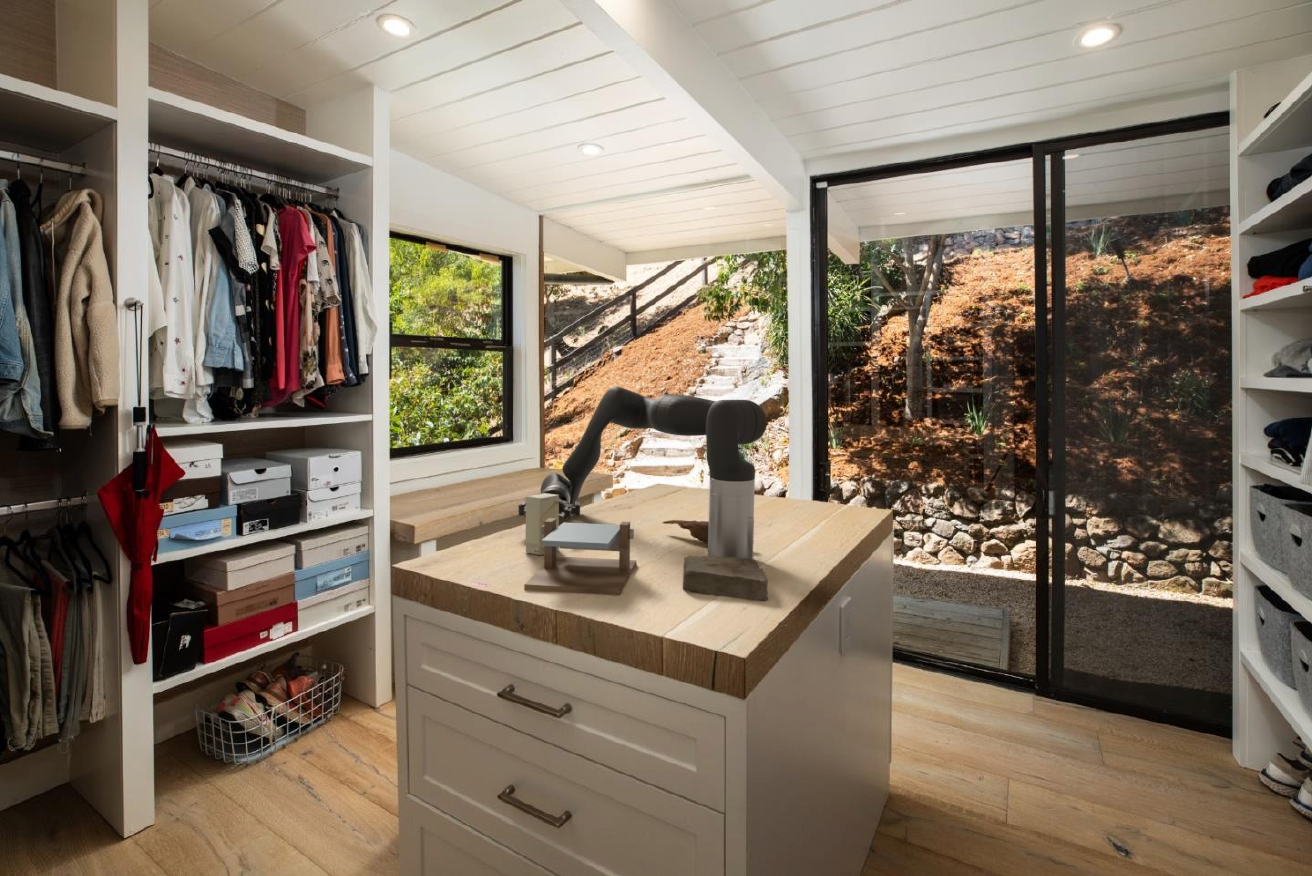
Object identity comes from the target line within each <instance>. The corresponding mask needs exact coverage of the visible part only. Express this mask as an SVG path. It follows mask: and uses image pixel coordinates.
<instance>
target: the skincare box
mask: <svg viewBox="0 0 1312 876" xmlns="http://www.w3.org/2000/svg"><path fill="white" fill-rule="evenodd" d="M525 500H526V517H525V553H527V554H531V555H538V556H542V555H543V556H544V546H541V540H542V539H544V535H542V534H541V528H542V525H544V521H546V520H547V519H548V518H556V528H557V527H559V526H560V518H559V495H555V494H547V493H542V494H541V493H537V494H533V495H527V496H525ZM559 549H560V548H559V547H556V552H557V551H559Z"/></svg>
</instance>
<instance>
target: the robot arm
mask: <svg viewBox="0 0 1312 876" xmlns="http://www.w3.org/2000/svg"><path fill="white" fill-rule="evenodd" d="M610 423H611V424H614V425H617V426H621V427H623V428H627V429H653V430H655V431H657V432H660V433H665V434H668V435H673V436H674V435H675V436H681V437H683V436H685V437H694V436H695V437H697V436H700V437H701V436H705V440H706V441H705V442H706V463H707V466H708V469H709V486H708V487H709V492H708V494H709V498H708V521H709V527H708V543H707V556H718V557H735V558H742V559H744V558H747V559H753V560H754V542H753V540H754V533H755V532H754V529H755V484H756V483H755V482H756V479H755V478H756V469H755V468H756V467H755V465H754V464H752V463H751V462H748V461H745V459H743V458H742V457H741V456H740V451H739V446H742V445H749V444H753V443H755V442H757V441H759V439H761V438H762V437H763V435H764V434H765V432H766V429H767V425H768V419H767V415H766V413H765V411H764V409H763V408H762V407H761V406H760V405H759V404H758V403H756V402H754V401H753V400H749V399H721V400H720V399H719V400H716V401H715V400H711V399H708V398H702V397H697V396H691V395H686V394H674V393H669V394H668V393H666V394H662V395H661V396H658V397H657V398H656V399H655V398H650V397H648V396H644V395H642V394H640V393H637V392H634V391H632V390H629V389H627V388H624V387H621V386H617V385H614V386H611V387H610V388H609V389H608V390H607V391H606V392H605V393H603V396H602V398H601V399H600V401H599V403H598V405H597V407H596V409H595V410H594V412H593V415H592V416H591V418H590V420H589V422H588V424H587V427H586V429H585V431H584V433H583V435H582V437H581V439H580V440H579V442H578V444H577V445H576V447H575V448H574V449H573V451H572V452H571V454H570V455H569V456H568V458H567V459H565V460H566V461H565V462H564V463H563V465H562V470H561V471H562V472H563V475H564V476H565V477H566V478H565V477H564V476H563V475H561V474H559V473H557V472H552V473H550V474H548V475H547V476H546V477H545V478H544V479H543V481H542V483H541V486H540V494H542V493H547V494H555V495H559V519H560V518H561V517H564V520H565V519H566V520H568V519H569V518H570V517H573V515H574V516H576V517H579V516H581V501H580V500H578V499H579V497H580V493H581V490H582V487H583V485H584V482H585V481H586V479H587V477H588V476H589V475H590V473H591V472H592V470H593V469H595V467H596V466H597V464H598V462H599V461H600V456H601V450H602V435H603V432H604V431H605V429H606V427H608V425H609V424H610ZM518 516H521V517H522V516H523V517H525V518H526V499H525V500H523V501H521V502H519V503H518Z"/></svg>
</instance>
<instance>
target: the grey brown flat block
mask: <svg viewBox="0 0 1312 876" xmlns="http://www.w3.org/2000/svg"><path fill="white" fill-rule="evenodd" d="M683 561H684V562H683V569H682V570H683V572H682V573H683V574H682V575H683V576H682V590H683V591H686V592H690V593H693V594H698V595H699V594H700V595H707V596H709V595H710V596H715V597H726V598H727V597H728V598H732V599H739V600H746V601H759V602H766V601H768V600H769V596H768V595H769V592H768V586H769V584H768V583H769V582H768V578H767V575H766V574H765V571H764V570H763V568H760V565H759V563H758V562H757V561H756V560H755V559H754V558H753V559H747V558H744V559H742V558H735V557H718V556H708V555H707V556H705V555H703V556H700V555H699V556H698V555H697V556H696V555H693V556H692V555H688V556H684V559H683Z"/></svg>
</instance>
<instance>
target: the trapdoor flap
mask: <svg viewBox="0 0 1312 876" xmlns="http://www.w3.org/2000/svg"><path fill="white" fill-rule="evenodd" d="M619 544H620V524H606V523H584V522H562V523H561V524H559V527H557V528H556V529H555V530H554V531H552V532H551V533H550V534H549V535H547V536H546V537H545V538H544V539H542V540H541V546H555V547H559V549H562V550H565V549H566V550H583V551H584V550H586V551H602V552H603V551H604V552H605V551H607V552H619Z"/></svg>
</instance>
